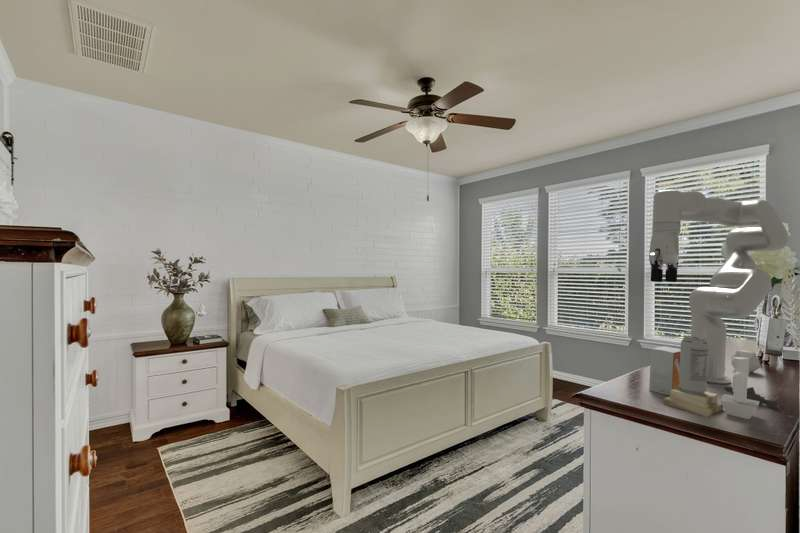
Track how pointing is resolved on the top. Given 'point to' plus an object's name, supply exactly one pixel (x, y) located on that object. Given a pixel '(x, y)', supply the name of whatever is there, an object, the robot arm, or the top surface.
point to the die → (752, 357)
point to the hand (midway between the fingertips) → (663, 281)
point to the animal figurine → (755, 397)
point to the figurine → (740, 392)
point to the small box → (664, 369)
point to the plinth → (694, 402)
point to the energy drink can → (693, 365)
